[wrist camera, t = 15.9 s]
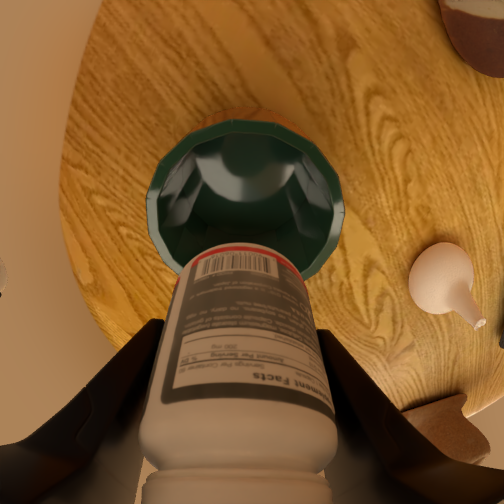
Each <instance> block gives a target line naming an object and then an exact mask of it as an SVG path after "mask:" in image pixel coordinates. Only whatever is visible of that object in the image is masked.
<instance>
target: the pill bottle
mask: <svg viewBox="0 0 504 504" xmlns="http://www.w3.org/2000/svg"><path fill="white" fill-rule="evenodd" d="M138 440H139V446H140V449H141V451H142V453H143V455H144V456H145V458H146V459H147V460H148V461H149V462H150V463H151V464H152V465H153V466H154V467H155V468H156V469H158V471H157V472H154V473H151V474H150V475H149V476H148V477H147V479H146V483H145V484H144V485H143V487H142V501H141V504H333V502H332V494H333V493H332V490H331V489H330V488H329V482H328V480H327V479H326V478H324V477H322V476H320V475H317V474H318V473H319V472H321V471H322V470H323V469H325V468H326V467H327V466H328V465H329V463H330V462H331V461H332V459H333V458H334V456H335V454H336V451H337V447H338V435H337V426H336V421H335V410H334V405H333V402H332V397H331V392H330V388H329V384H328V379H327V375H326V371H325V368H324V363H323V359H322V354H321V350H320V346H319V340H318V336H317V332H316V328H315V323H314V319H313V314H312V310H311V305H310V301H309V296H308V292H307V289H306V286H305V283H304V281H303V278H302V277H301V275H300V273H299V272H298V270H297V269H296V267H295V266H294V265H293V264H292V263H291V262H290V261H289V260H288V259H287V258H286V257H284V256H283V255H282V254H280V253H278V252H276V251H275V250H273V249H270V248H268V247H265V246H261V245H257V244H252V243H228V244H223V245H218V246H215V247H212V248H210V249H208V250H206V251H204V252H202V253H200V254H199V255H197V256H196V257H194V258H193V259H192V260H191V261H190V262H189V263H188V264H187V265H186V266H185V267H184V269H183V270H182V272H181V273H180V275H179V277H178V279H177V282H176V285H175V288H174V291H173V295H172V299H171V302H170V306H169V309H168V313H167V316H166V320H165V324H164V327H163V331H162V335H161V338H160V342H159V346H158V350H157V354H156V357H155V361H154V365H153V369H152V373H151V377H150V381H149V385H148V389H147V394H146V398H145V402H144V406H143V410H142V414H141V419H140V426H139V434H138Z"/></svg>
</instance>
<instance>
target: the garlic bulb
mask: <svg viewBox="0 0 504 504" xmlns="http://www.w3.org/2000/svg"><path fill="white" fill-rule="evenodd" d="M473 281H474V270H473V265H472V262H471V260H470V258H469V256H468V255H467V253H466V252H465V251H464V250H463V249H462V248H460V247H459V246H457V245H455V244H452V243H448V242H442V243H437V244H435V245H432V246H431V247H429V248H427V249H426V250H425V251H424V252H422V253H421V254H420V256H419V257H418V258H417V260H416V261H415V263H414V264H413V266H412V268H411V271H410V274H409V291H410V294H411V297H412V299H413V300H414V302H415V303H416V305H417V306H418V307H420V308H421V309H422V310H424V311H426V312H428V313H432V314H444V313H448V312H450V311H452V310H454V311H455V312H457V313H458V314H459V315H460V316H461V317H463V318H464V319H465V320H466V321H467V322H468V323H469V324H470V325H472V327H474V329H475V330H478V328H479V327H481V326H483V325H485V323H486V319H485V318H483V316H482V314H481V312H480V310H479V308H478V306H477V304H476V302H475V301H474V299H473V297H472V295H471V293H470V291H471V288H472V285H473Z"/></svg>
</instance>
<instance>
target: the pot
mask: <svg viewBox="0 0 504 504" xmlns="http://www.w3.org/2000/svg"><path fill="white" fill-rule="evenodd" d="M146 213H147V226H148V234H149V236H150V238H151V240H152V241H153V243H154V245H155V247H156V249H157V251H158V253H159V255H160V257H161V258H162V260H163V262H164V263H165V264H166V265H167V266H168V267H169V268H171V269H172V270H173V271H174V272H175V273H176V274H177V275H180V273H181V272H182V270H183V269H184V267H185V266H186V265H187V264H188V263H189V262H190V261H191V260H192V259H193V258H194V257H196V256H197V255H199V254H200V253H202V252H204V251H206V250H208V249H210V248H212V247H215V246H218V245H223V244H228V243H252V244H257V245H261V246H265V247H268V248H270V249H273V250H275V251H276V252H278V253H280V254H282V255H283V256H284V257H286V258H287V259H288V260H289V261H290V262H291V263H292V264H293V265H294V266H295V267H296V269H297V270H298V272H299V273H300V275H301V277H302V278H303V281H305V280H307V279H308V278H310V277H312V276H313V275H315V274H316V273H317V272H318V271H319V270H320V268H321V267H322V266H323V265H324V263H325V262H326V261H327V259H328V258H329V256H330V255H331V254H332V252H333V251H334V250H335V248H336V247H337V244H338V241H339V237H340V233H341V229H342V225H343V220H344V216H345V206H344V200H343V195H342V190H341V185H340V180H339V176H338V174H337V173H336V171H335V170H334V168H333V167H332V166H331V164H330V163H329V162H328V160H327V159H326V157H325V156H324V155H323V153H322V152H321V151H320V149H319V148H318V147H317V145H316V144H315V143H314V142H313V141H312V140H311V139H310V138H309V137H308V136H307V135H306V134H305V133H304V132H303V131H302V130H301V129H300V128H299V127H298V126H297V125H296V124H294V123H293V122H291V121H289V120H288V119H286V118H284V117H283V116H281V115H279V114H277V113H274V112H272V111H271V110H267V109H262V108H256V107H233V108H230V109H226V110H222V111H220V112H217V113H215V114H212V115H209V116H208V117H206V118H205V119H203V120H202V121H201V122H200V123H199V124H198V125H197V126H196V127H194V128H193V129H192V130H191V131H190V132H189V133H188V134H187V135H186V136H185V137H184V138H183V139H182V140H180V141H179V142H178V143H177V144H176V145H175V146H174V147H173V148H172V149H171V150H170V151H169V152H168V153H167V154H166V155H165V156H164V157H163V158H162V159H161V160H160V162H159V163H158V165H157V168H156V170H155V173H154V175H153V178H152V181H151V183H150V186H149V189H148V191H147V194H146Z"/></svg>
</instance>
